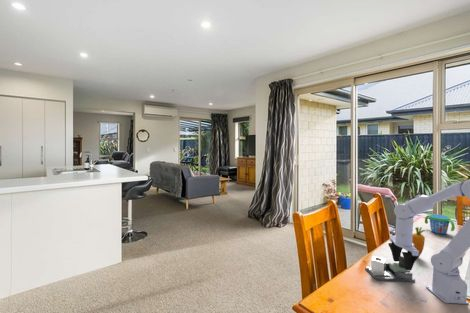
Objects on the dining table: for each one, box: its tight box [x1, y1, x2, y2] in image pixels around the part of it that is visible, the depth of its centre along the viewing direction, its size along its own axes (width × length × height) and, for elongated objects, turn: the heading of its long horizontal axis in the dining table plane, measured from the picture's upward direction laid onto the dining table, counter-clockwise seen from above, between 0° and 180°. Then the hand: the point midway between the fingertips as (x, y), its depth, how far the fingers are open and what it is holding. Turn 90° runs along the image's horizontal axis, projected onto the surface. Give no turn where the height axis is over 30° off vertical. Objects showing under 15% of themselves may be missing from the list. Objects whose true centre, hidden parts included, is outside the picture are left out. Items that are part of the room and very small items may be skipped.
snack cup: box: [424, 213, 456, 235], centre depth 154 cm, size 16×10×10 cm
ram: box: [389, 255, 411, 272], centre depth 102 cm, size 6×5×6 cm
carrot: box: [412, 226, 426, 257], centre depth 119 cm, size 5×5×15 cm
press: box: [364, 261, 416, 283], centre depth 103 cm, size 9×15×3 cm, turn 87°
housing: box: [370, 255, 387, 275], centre depth 103 cm, size 4×4×5 cm
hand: (402, 265), depth 102 cm, fingers open, 7 cm apart
